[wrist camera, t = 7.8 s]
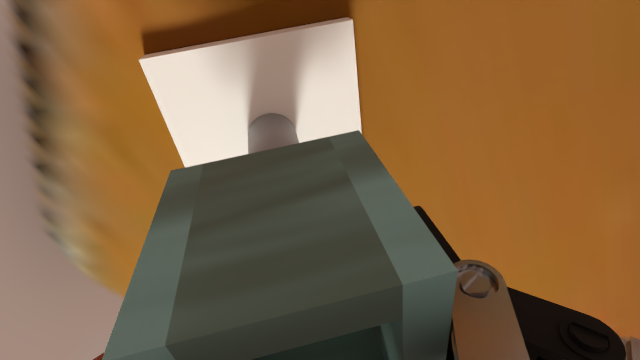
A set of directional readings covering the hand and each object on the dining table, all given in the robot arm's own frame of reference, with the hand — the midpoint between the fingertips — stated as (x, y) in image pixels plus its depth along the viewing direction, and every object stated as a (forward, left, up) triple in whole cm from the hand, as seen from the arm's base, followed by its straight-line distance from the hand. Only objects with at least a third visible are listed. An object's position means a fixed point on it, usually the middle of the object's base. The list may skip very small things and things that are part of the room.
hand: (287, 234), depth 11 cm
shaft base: (0, 0, -9) cm, 9 cm away
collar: (0, 0, -1) cm, 1 cm away
